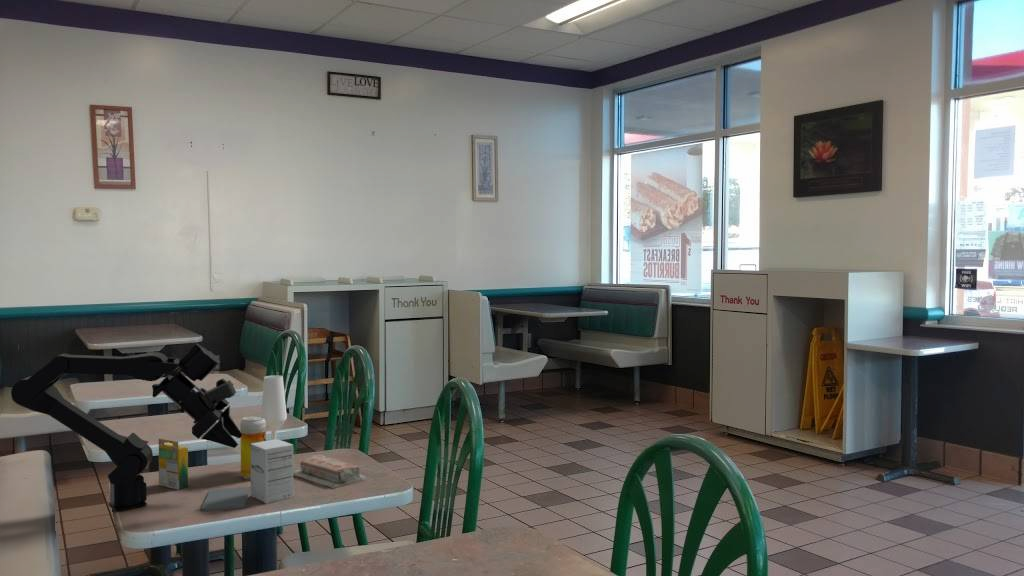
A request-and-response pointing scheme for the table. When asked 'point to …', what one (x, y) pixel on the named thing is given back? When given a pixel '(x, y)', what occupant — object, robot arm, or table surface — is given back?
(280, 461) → the supplement box
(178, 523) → the table surface
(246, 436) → the beer can
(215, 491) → the mat
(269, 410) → the champagne flute
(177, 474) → the crayon box
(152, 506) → the table surface
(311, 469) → the packaged product
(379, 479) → the table surface
